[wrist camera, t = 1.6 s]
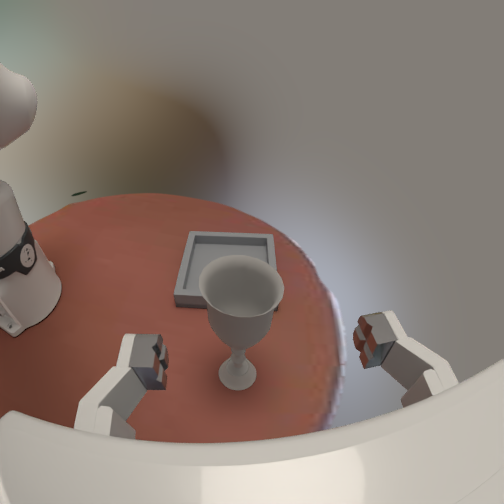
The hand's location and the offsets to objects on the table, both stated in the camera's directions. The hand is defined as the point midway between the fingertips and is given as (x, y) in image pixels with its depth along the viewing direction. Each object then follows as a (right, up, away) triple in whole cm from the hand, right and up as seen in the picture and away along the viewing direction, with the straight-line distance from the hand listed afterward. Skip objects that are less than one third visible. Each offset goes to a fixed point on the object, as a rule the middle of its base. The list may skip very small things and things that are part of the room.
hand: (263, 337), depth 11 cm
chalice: (-2, -13, +24) cm, 27 cm away
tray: (-5, 0, +38) cm, 38 cm away
